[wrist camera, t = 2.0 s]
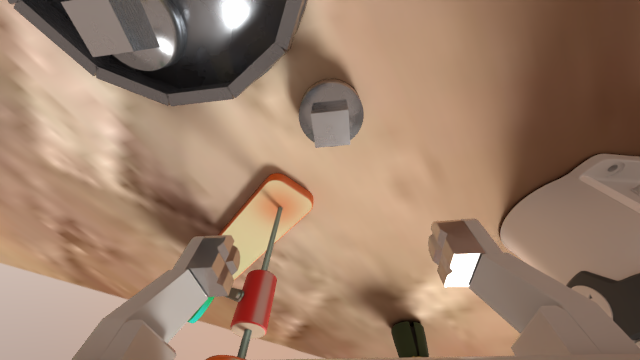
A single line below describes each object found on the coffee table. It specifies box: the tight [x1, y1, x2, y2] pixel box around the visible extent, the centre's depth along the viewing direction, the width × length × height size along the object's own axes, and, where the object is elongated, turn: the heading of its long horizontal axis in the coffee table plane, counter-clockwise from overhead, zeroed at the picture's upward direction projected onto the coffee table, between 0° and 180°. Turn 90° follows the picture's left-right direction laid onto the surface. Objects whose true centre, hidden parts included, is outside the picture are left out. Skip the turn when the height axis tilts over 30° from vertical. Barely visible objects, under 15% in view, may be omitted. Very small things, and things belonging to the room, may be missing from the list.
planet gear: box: [299, 79, 363, 148], centre depth 22 cm, size 6×6×5 cm
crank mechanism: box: [187, 173, 313, 360], centre depth 26 cm, size 25×7×19 cm, turn 140°
